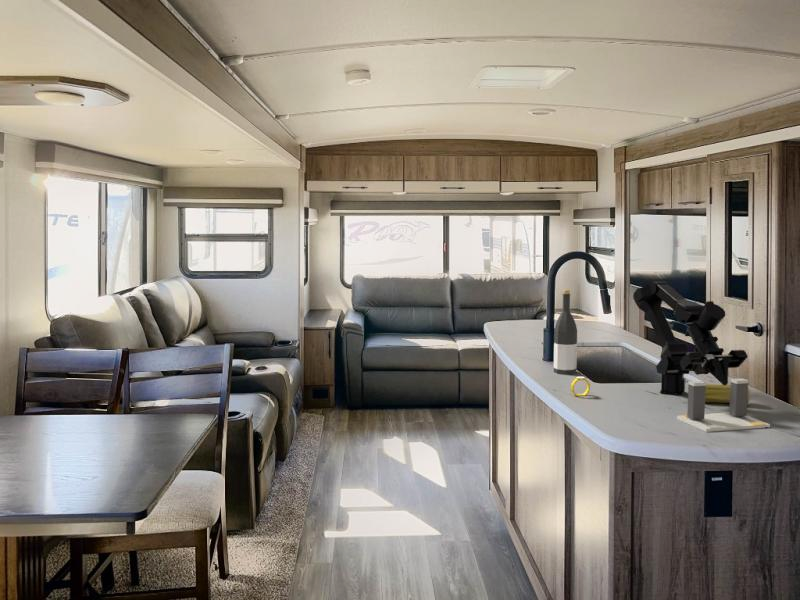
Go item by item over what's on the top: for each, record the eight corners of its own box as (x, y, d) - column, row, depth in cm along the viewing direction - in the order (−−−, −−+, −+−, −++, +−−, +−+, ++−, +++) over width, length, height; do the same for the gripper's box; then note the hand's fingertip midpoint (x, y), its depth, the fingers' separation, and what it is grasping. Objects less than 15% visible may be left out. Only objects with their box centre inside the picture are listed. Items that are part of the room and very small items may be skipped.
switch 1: (687, 417, 200) (688, 381, 199) (698, 416, 201) (700, 380, 200) (692, 419, 198) (694, 383, 197) (704, 418, 198) (705, 382, 197)
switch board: (677, 418, 203) (677, 415, 203) (737, 414, 206) (738, 411, 206) (705, 431, 190) (706, 428, 190) (769, 427, 194) (770, 423, 194)
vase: (746, 381, 220) (695, 380, 224) (749, 387, 214) (697, 386, 218) (745, 400, 221) (694, 399, 225) (749, 407, 215) (696, 406, 219)
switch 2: (729, 414, 203) (730, 378, 202) (740, 413, 203) (742, 378, 202) (735, 416, 200) (736, 380, 199) (746, 415, 201) (748, 380, 200)
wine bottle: (554, 374, 262) (555, 290, 259) (553, 369, 270) (554, 288, 266) (577, 374, 260) (578, 291, 257) (575, 370, 268) (577, 288, 265)
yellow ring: (574, 398, 228) (573, 379, 227) (570, 396, 231) (569, 377, 230) (591, 395, 229) (590, 377, 229) (587, 393, 232) (586, 375, 231)
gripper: (718, 354, 224) (740, 397, 215) (663, 356, 220) (683, 401, 211) (736, 332, 216) (760, 376, 206) (679, 334, 212) (701, 380, 202)
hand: (725, 384), depth 207 cm, fingers closed
